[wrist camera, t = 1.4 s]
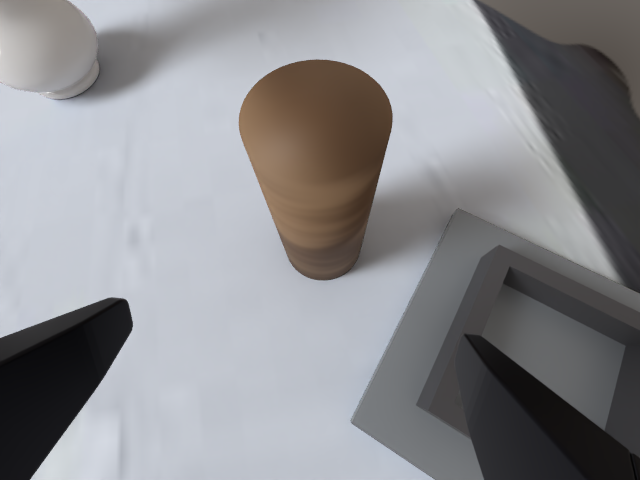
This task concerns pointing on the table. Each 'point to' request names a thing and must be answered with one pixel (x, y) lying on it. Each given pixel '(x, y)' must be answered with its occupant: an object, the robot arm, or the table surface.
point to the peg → (317, 158)
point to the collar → (502, 345)
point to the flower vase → (47, 48)
